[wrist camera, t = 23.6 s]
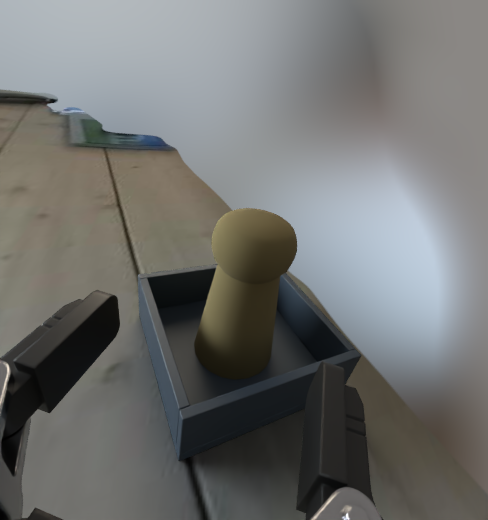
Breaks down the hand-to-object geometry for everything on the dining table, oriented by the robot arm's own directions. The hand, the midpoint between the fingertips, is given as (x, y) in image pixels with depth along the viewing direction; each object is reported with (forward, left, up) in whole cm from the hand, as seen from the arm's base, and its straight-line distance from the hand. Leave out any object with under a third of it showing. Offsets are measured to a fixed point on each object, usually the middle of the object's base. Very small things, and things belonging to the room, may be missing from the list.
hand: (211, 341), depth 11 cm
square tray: (+2, -8, -10) cm, 13 cm away
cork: (+2, -8, -10) cm, 13 cm away
